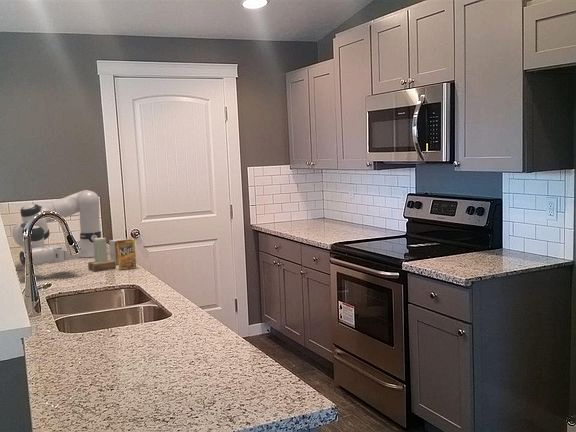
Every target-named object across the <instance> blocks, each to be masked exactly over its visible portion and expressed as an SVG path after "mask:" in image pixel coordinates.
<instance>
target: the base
mask: <svg viewBox="0 0 576 432" xmlns="http://www.w3.org/2000/svg"><path fill="white" fill-rule="evenodd" d="M107 260H108V261H106V262H99V263H98V262H95V260H91V261H89V262H88V263H87V268H88V270H89V271H92V272H95V273H97V272H103V271H108V270H116V269H117V268H116V267H117V266H116V264H115V262H114V261H112V260H111V259H109V258H107Z"/></svg>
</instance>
